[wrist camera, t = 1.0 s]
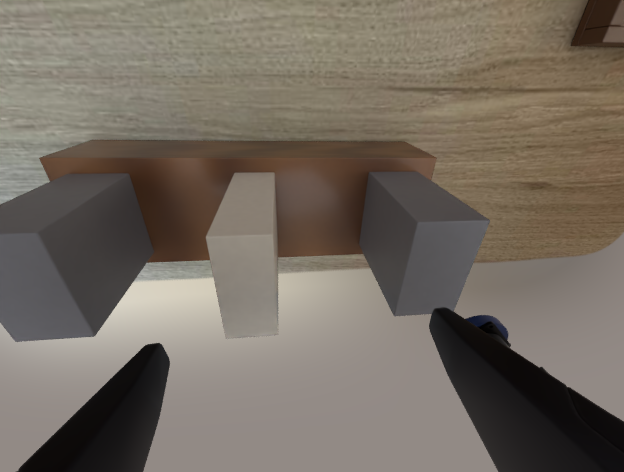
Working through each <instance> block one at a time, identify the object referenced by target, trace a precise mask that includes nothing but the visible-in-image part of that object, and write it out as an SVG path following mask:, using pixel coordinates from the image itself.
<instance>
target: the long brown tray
mask: <svg viewBox="0 0 624 472" xmlns="http://www.w3.org/2000/svg"><path fill="white" fill-rule="evenodd" d="M571 46H594V47H624V0H589V2H588V5H587V7H586V10H585V12H584V15H583V17H582V20H581V22H580V25H579V27H578V30H577V32H576V35H575V37H574V39H573V42H572V44H571Z"/></svg>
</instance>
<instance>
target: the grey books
mask: <svg viewBox="0 0 624 472" xmlns="http://www.w3.org/2000/svg"><path fill="white" fill-rule="evenodd" d="M489 222H490V220H489V219H487V218H486V217H484V216H483V215H481V214H480V213H478V212H477V211H475V210H474V209H472V208H471V207H469V206H468V205H466V204H465V203H463V202H462V201H460V200H459V199H458V198H456V197H455V196H453V195H452V194H450V193H449V192H447V191H446V190H444V189H443V188H441V187H440V186H438V185H437V184H435V183H434V182H432V181H431V180H429V179H428V178H426V177H425V176H423V175H422V174H420V173H419V172H369V175H368V182H367V189H366V197H365V204H364V212H363V219H362V226H361V234H360V241H359V245H360V247H361V249H362V252H363V254H364V256H365V258H366V260H367V262H368V264H369V266H370V268H371V270H372V272H373V274H374V276H375V278H376V280H377V282H378V284H379V286H380V288H381V290H382V292H383V294H384V297H385V298H386V301H387V302H388V305H389V307H390V309H391V311H392V313H393V315H394V316H405V315H421V314H432V312H433V310H434V309H435V308H441V307H446V308H449V309H450V310H452V311H453V312H454V309H455V307H456V304H457V302H458V299H459V297H460V294H461V292H462V289H463V287H464V284H465V282H466V279H467V277H468V274H469V272H470V269H471V267H472V264H473V262H474V260H475V257H476V255H477V252H478V250H479V247H480V245H481V242H482V240H483V237H484V235H485V232H486V230H487V227H488V225H489ZM153 253H154V250H153V247H152V244H151V240H150V237H149V234H148V231H147V228H146V225H145V222H144V219H143V216H142V212H141V209H140V206H139V203H138V200H137V197H136V194H135V191H134V187H133V184H132V181H131V178H130V175H129V174H128V173H106V174H66V175H64V176H62V177H60V178H57V179H55V180H53V181H51V182H49V183H46V184H44V185H42V186H40V187H38V188H36V189H33V190H31V191H29V192H27V193H25V194H23V195H20V196H18V197H16V198H14V199H12V200H10V201H7V202H5V203H3V204H1V205H0V323H1V324H2V325H3V326H4V328H5V329H6V330H7V332H8V333H9V334H10V335H11V337H12V338H13V339H14V340H15V341H16V342H20V341H34V340H48V339H64V338H78V337H94V336H95V335H96V334H97V332H98V331H99V330H100V328H101V327H102V325H103V324H104V322H105V321H106V319H107V318H108V317H109V315H110V314H111V313H112V311H113V309H114V308H115V307H116V305H117V304H118V303H119V301H120V300H121V298H122V297H123V295H124V294H125V292H126V291H127V290H128V288H129V287H130V286H131V284H132V283H133V281H134V280H135V278H136V277H137V276H138V274H139V273H140V271H141V270H142V269H143V267H144V266H145V264H146V263H147V261H148V260H149V259H150V257H151V256H152V254H153Z"/></svg>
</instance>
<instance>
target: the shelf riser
mask: <svg viewBox="0 0 624 472" xmlns="http://www.w3.org/2000/svg"><path fill="white" fill-rule="evenodd" d="M39 159H40V161H41V163H42V165H43V167H44V169H45V171H46V174H47V176H48V178H49V180H50V182H51V181H53V180H55V179H57V178H60V177H62V176H64V175H66V174H106V173H128V174H129V175H130V178H131V181H132V184H133V187H134V191H135V194H136V197H137V200H138V203H139V206H140V209H141V212H142V216H143V219H144V222H145V225H146V228H147V231H148V234H149V237H150V240H151V244H152V247H153V250H154V253H153V254H152V256H151V257H150V259H149V260H148V261H147V263H150V262H175V261H199V260H210V256H209V251H208V246H207V241H206V236H207V233H208V231H209V229H210V227H211V224H212V222H213V220H214V218H215V215H216V213H217V211H218V209H219V206H220V204H221V202H222V200H223V198H224V195H225V193H226V191H227V189H228V186H229V184H230V182H231V180H232V177H233V175H234V173H265V172H274V173H275V192H276V215H277V238H278V257H298V256H323V255H348V254H363V252H362V249H361V247H360V245H359V241H360V234H361V226H362V219H363V212H364V204H365V197H366V189H367V182H368V175H369V172H419V173H420V174H422V175H423V176H425V177H426V178H428V179H429V180H431V178H432V174H433V170H434V167H435V163H436V159H437V158H436V157H434V156H432V155H430V154H428V153H426V152H424V151H422V150H420V149H418V148H416V147H414V146H412V145H410V144H408V143H406V142H341V141H178V140H91V141H88V142H85V143H82V144H79V145H76V146H73V147H70V148H67V149H64V150H61V151H58V152H55V153H52V154H49V155H46V156H43V157H40V158H39Z"/></svg>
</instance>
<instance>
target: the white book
mask: <svg viewBox="0 0 624 472" xmlns="http://www.w3.org/2000/svg"><path fill="white" fill-rule="evenodd" d="M206 241H207V246H208V251H209V256H210V261H211V266H212V272H213V277H214V281H215V287H216V292H217V297H218V302H219V307H220V312H221V317H222V322H223V327H224V331H225V337H226V339H229V338H243V337H258V336H271V335H278V238H277V215H276V192H275V173H274V172H265V173H234V175H233V177H232V180H231V182H230V184H229V186H228V189H227V191H226V193H225V195H224V198H223V200H222V202H221V204H220V206H219V209H218V211H217V213H216V215H215V218H214V220H213V222H212V224H211V227H210V229H209V231H208V233H207V236H206Z"/></svg>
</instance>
